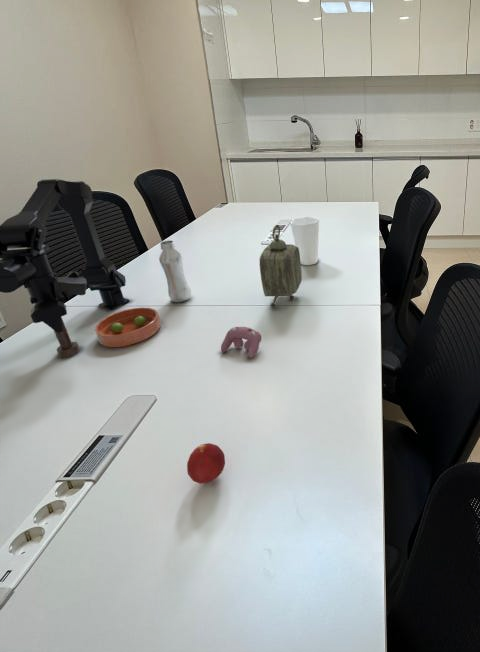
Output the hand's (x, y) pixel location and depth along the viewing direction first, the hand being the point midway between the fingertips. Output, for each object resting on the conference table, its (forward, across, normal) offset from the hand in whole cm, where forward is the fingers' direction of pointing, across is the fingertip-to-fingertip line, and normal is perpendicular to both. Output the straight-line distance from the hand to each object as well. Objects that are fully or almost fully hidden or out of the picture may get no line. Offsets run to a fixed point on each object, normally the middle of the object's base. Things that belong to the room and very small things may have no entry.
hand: (60, 329), depth 98 cm
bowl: (+7, 0, -14) cm, 16 cm away
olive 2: (+5, +1, -17) cm, 18 cm away
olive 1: (+5, +2, -11) cm, 12 cm away
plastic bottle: (+7, +12, -31) cm, 34 cm away
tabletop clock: (+7, -11, -57) cm, 58 cm away
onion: (+7, -62, -17) cm, 64 cm away
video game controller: (+7, -29, -36) cm, 46 cm away
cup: (+7, +13, -79) cm, 80 cm away
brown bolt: (+7, 0, 0) cm, 7 cm away
